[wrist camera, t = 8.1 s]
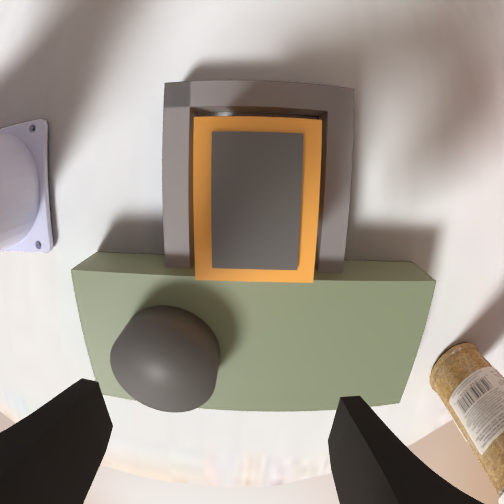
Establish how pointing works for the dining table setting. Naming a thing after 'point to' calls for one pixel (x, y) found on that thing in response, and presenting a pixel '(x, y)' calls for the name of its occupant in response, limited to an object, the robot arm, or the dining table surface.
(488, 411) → the sprinkles bottle
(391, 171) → the dining table surface
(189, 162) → the green block with knob
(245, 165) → the chute block
